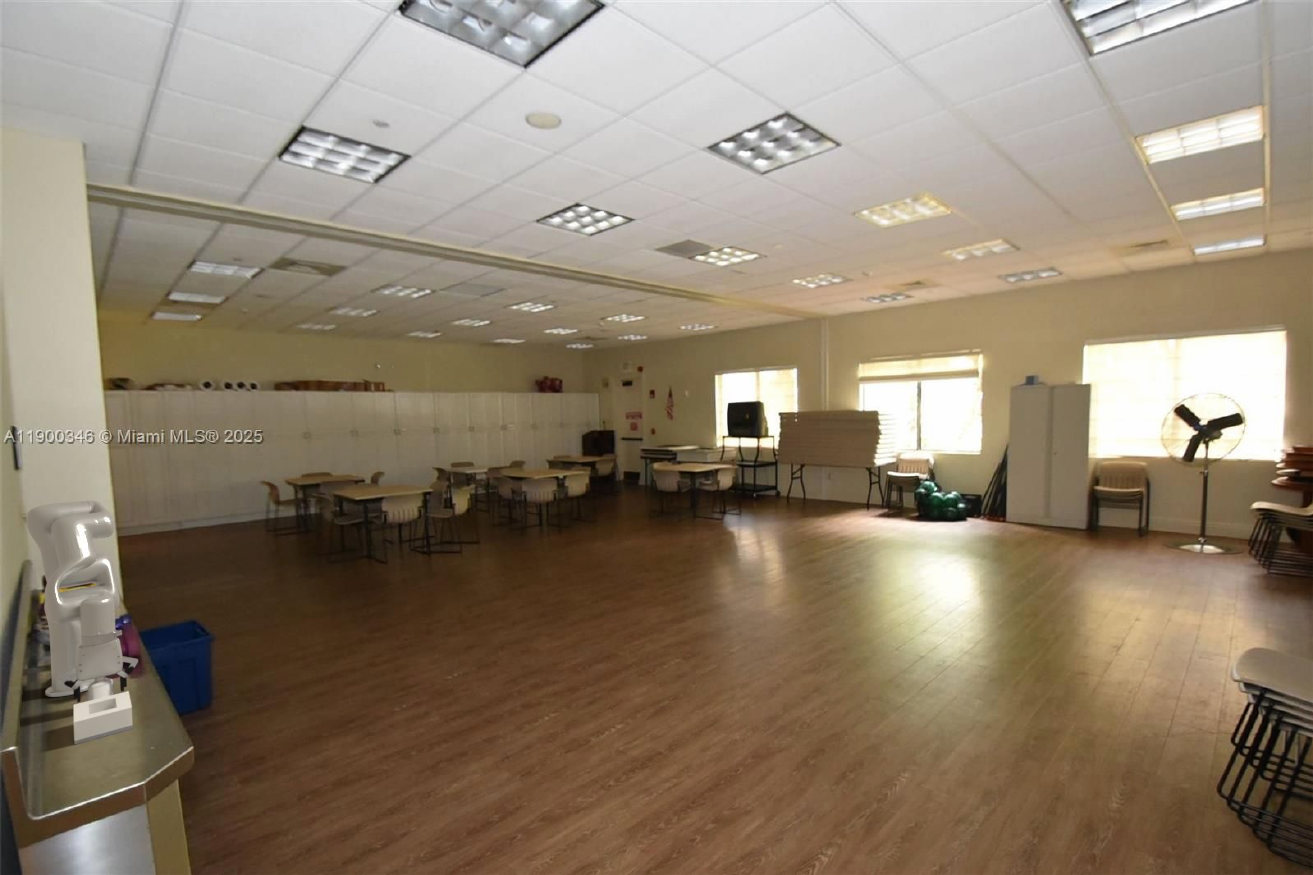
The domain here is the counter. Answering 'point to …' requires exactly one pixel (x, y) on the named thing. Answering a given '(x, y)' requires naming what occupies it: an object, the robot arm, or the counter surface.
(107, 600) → the robot arm
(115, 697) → the keyed holder
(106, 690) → the eye dropper bottle
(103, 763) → the counter surface
